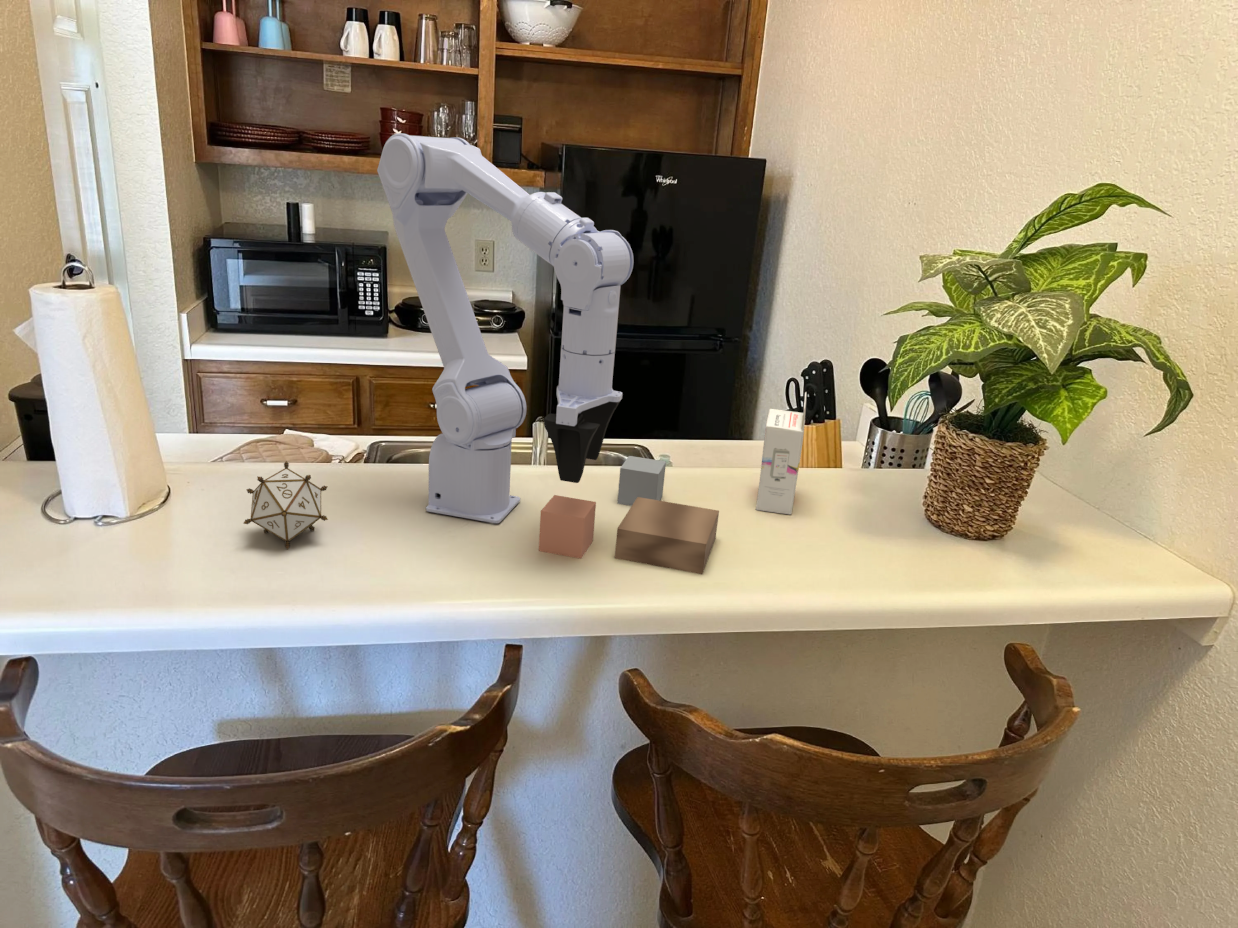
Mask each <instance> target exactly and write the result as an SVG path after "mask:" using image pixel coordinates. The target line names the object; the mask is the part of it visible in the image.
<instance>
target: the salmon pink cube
mask: <svg viewBox="0 0 1238 928" xmlns="http://www.w3.org/2000/svg"><path fill="white" fill-rule="evenodd" d="M596 507H597V502H596V501H592V500H587V499H581V498H575V497H574V498H573V497H568V496H563V495H558V494H557V495H556V494H554V495H553V496H552V497H551V498H550V499H549V501H548V502H547V503H546V504H545V506H543V508H542V509H541V510H540V517H539V518H540V520H539V521H540V522H539V534H538V535H539V538H538V539H539V540H538V552H542V553H549V554H553V555H559V556H564V557H570V558H577V559H583V558H584V556H585V554H586V552H587V551H588V549H589V548H590V547H591V544H592V543H593V542H594V534H595V533H594V532H595V518H596V509H597V508H596Z"/></svg>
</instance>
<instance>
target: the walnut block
mask: <svg viewBox="0 0 1238 928" xmlns="http://www.w3.org/2000/svg"><path fill="white" fill-rule="evenodd" d="M719 513H720V510H718V509H713V508H712V509H711V508H705V507H701V506H699V507H698V506H694V505H687V504H681V503H677V502H670V501H665V500H663V501H662V500H660V501H659V500H653V499H647V498H641V497H637V499H636V500H635V502H634V503H633V505H632V506H630V508H629V509H628V511H627V513H626V514H625V515H624V518H623V519H622V521H621V522H620V524H619V525H618V527H617V528H616V540H615V551H614V552H615V553H614V559H617V560H622V561H627V562H634V563H638V564H642V565H643V564H645V565H650V566H654V567H659V568H660V567H661V568H666V569H671V570H677V571H681V572H686V573H687V572H688V573H693V574H698V575H704V573H705V568H706V567H707V566H706V565H707V563H708V560H709V557H710V555H711V552H712V550H713V547H714V544H715V541H716V538H717V531H718V530H717V529H718V523H719V517H720V516H719Z"/></svg>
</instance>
